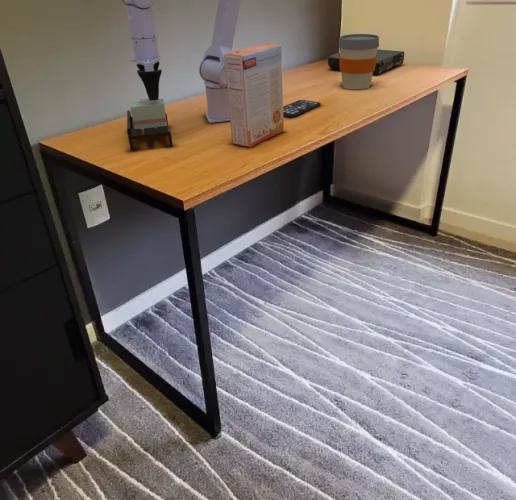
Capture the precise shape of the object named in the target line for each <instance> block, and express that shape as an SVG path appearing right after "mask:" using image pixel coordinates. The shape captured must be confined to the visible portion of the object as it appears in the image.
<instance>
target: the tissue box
mask: <svg viewBox="0 0 516 500" xmlns="http://www.w3.org/2000/svg"><path fill="white" fill-rule="evenodd" d="M129 105H130V112H131V117H132V118H133V124H134V129H141V130H144V128H153V127H154V128H157V127H162V126H167V120H168V119H167V120H166V114H165V113H166V109H165V108H166V107H165V102H164V99H163V98H158V100H151V101H150V100H149V98H141V99H139V100H136V101H130V104H129Z"/></svg>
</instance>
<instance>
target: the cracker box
mask: <svg viewBox="0 0 516 500" xmlns="http://www.w3.org/2000/svg"><path fill="white" fill-rule="evenodd" d="M224 56H225V67H226V78H227V89H228V100H229V111H230V121H229V122H230V131H231V142H232V145H236V146H241V147H245V148H252V147H253V146H254V147H255V146H256V145H258V144H260V143H262V142H264V141H266V140H268V139H270V138H272V137H274V136H277V135H279V134H280V133H283V132H284V131H285V129H284V124H285V123H284V116H283V107H284V99H283V98H284V97H283V96H284V94H283V64H282V63H283V62H282V44H279V43H278V44H276V43H275V44H274V43H266V42H265V43H264V42H263V43H259V44H256V45H252V46H249V47H245V48H242V49H241V48H240V49H238V50H234V51H233V52H230V53H226V54H225V55H224Z"/></svg>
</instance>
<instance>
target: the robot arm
mask: <svg viewBox="0 0 516 500" xmlns="http://www.w3.org/2000/svg"><path fill="white" fill-rule="evenodd" d="M120 1H121V3H122V4H124V6H125V7H126V12H127V20H128V26H129V32H130V38H131V42H132V49H133V55H134V57H130V58H129V59H130V61H129V62H130V63H137V64H136V68H137V70H136V73H137V75H138V77H139V79H141V82H142V83H143V87H144V88H145V92H146V95H147V97H148V98H147V99H149V100H150V101H151V100H158V99H160V98H159V96H160V79H161V75H162V73H163V71H162V68H161V69H159V67H160V60H161V56H160V53H159V45H158V39H157V32H156V26H155V19H154V13H153V5H154V3H155V1H156V0H120ZM241 2H242V0H218V4H217V10H216V14H215V21H214V27H213V31H212V36H211V37H212V38H211V44H210V45H209V47H207V48H206V50H205V51H204V55H203V58H202V60H200V61H201V62H199V66H198V74H199V77H200V78H201V79H202V80H203V81H204V85H205V96H206V97H205V98H206V105H207V107H206V108H207V113H205V117H206V119H207V121H208V123H209V124H210V123H212V124H213V123H220V122H221V123H222V122H230V111H229V100H228V89H227V78H226V67H225V56H224V55H225V54H226V53H230V52H234V51H233V44H234V38H235V33H236V28H237V23H238V17H239V13H240V7H241Z"/></svg>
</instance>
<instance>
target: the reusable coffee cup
mask: <svg viewBox="0 0 516 500" xmlns="http://www.w3.org/2000/svg"><path fill="white" fill-rule="evenodd" d="M379 47H380V36H379V35H377V34H370V33H352V34H351V33H350V34H345V35H341V36H340V37H339V41H338V48H339V53H340V56H339V63H340V71H339V72H341V85H342V88H344V89H347V90H356V91H357V90H366V89H368V88H370V87H371V83H372V78H373V75H372V74H373V71H374V70H375V65H376V60H377V55H376V54H377V49H379Z"/></svg>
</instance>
